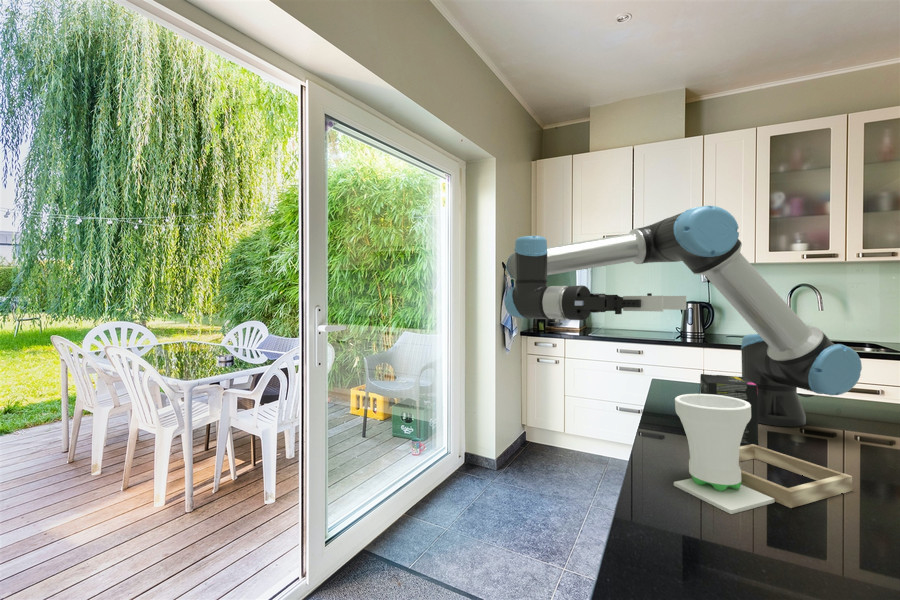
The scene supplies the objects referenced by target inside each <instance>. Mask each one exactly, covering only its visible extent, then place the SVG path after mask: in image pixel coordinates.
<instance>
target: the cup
mask: <svg viewBox="0 0 900 600" xmlns="http://www.w3.org/2000/svg"><path fill="white" fill-rule="evenodd" d="M674 405H675V413H676V415H677V416H678V417H679V419H680V422H681V424H682V426H683V429H684V432H685V434H686V438H687V443H688V449H689V450H688V451H689V457H690V458H689V460H688V473H689V474H690V476H691V478H693V479H694V481H695V483H696V484H698V485H705V484H707V483H709V484H712V486H713V487H714V488H715V489H716V490H719V491H723V490H725V489H726V487H728V486H729V487H731V488H733V489H739V488H740V486H741V480H742V479H741V470H742V469H741V466H740V462H739V450H740V443H741V440H742V436H743V433H744V430H745V427H746V425H747V423H748V422H749V421H750V419H751V405H750V403H749V402H747V401H744V400H741V399H738V398H733V397H728V396H722V395H712V394H700V393H685V394H681V395H678V396H675V398H674Z"/></svg>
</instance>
